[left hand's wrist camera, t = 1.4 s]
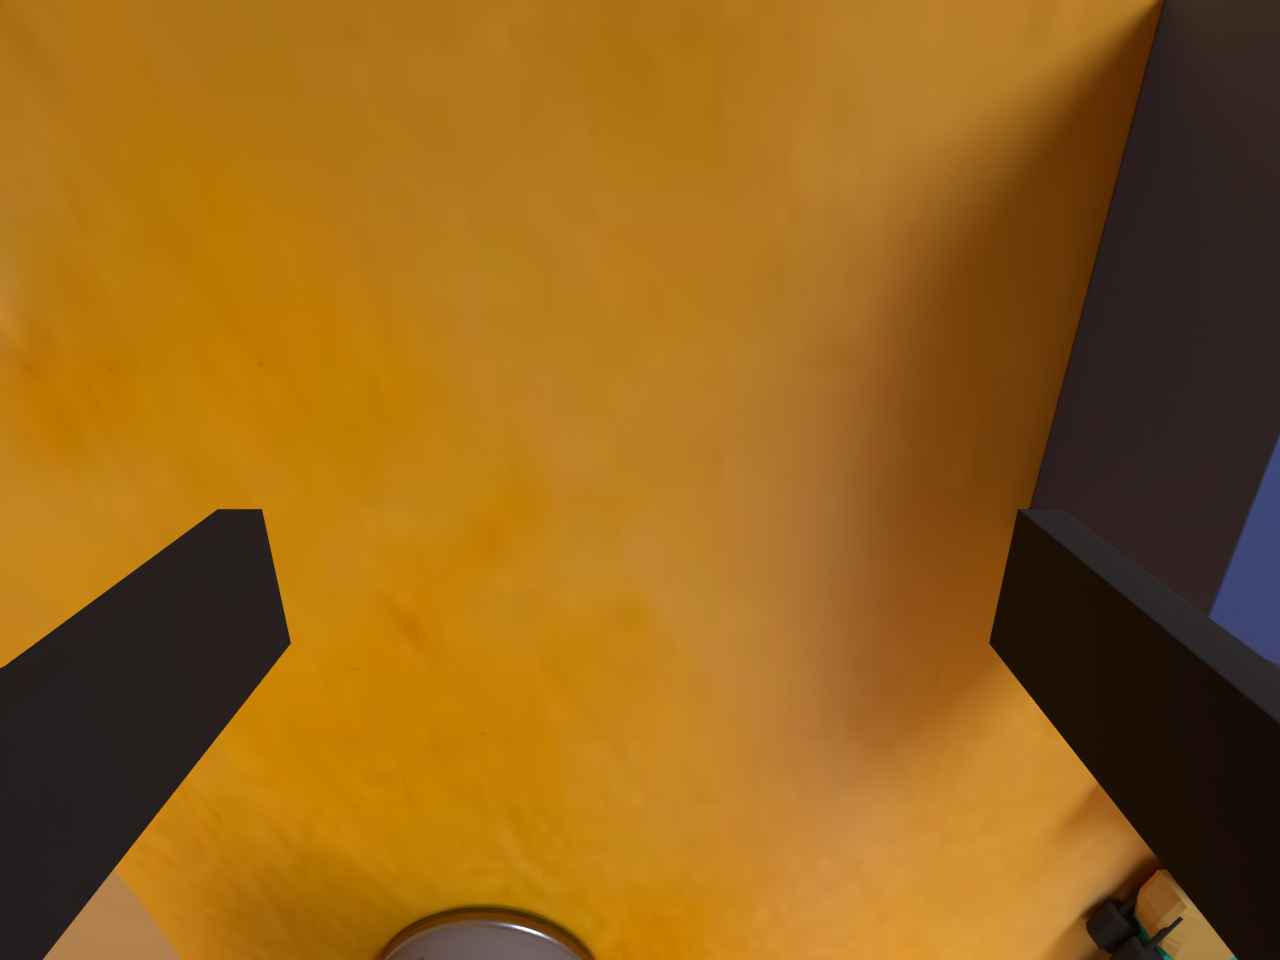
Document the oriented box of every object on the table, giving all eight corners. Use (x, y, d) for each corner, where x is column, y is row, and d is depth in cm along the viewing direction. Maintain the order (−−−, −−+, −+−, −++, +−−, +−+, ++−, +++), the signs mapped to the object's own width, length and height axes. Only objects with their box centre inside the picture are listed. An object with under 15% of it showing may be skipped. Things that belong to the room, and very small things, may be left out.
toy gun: (969, 1030, 43) (1161, 1094, 45) (1275, 718, 35) (1490, 817, 37) (939, 958, 47) (1117, 1020, 50) (1206, 663, 39) (1404, 756, 41)
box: (1135, 542, 36) (1345, 685, 26) (1021, 538, 36) (1183, 680, 25) (1315, -3, 28) (1746, -132, 17) (1166, -10, 27) (1504, -145, 17)
